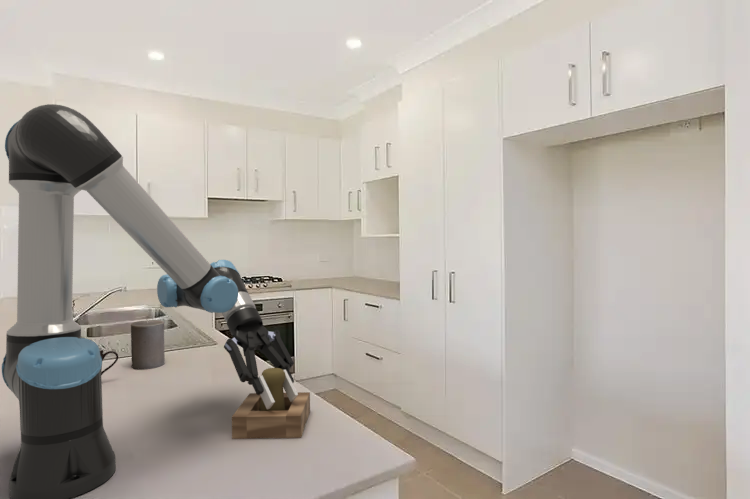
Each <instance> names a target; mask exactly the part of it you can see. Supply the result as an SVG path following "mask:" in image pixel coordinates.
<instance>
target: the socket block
mask: <svg viewBox="0 0 750 499" xmlns="http://www.w3.org/2000/svg"><path fill="white" fill-rule="evenodd" d="M297 393H298V396H297V397H296V398H295V400H294V401H292V402H290V400H289V398H288V396H287V394H286V392H284V402H285V411H259V409H260V403H261V395H257V394H256V392H249V393H248V394H247V396H246V397H245V399H244V400H243V401H242V403H241V404H240V405H239V407H238V408H237V409H236V410H235V412H234V413H233V414H232V416H231V438H232V440H238V439H239V440H240V439H245V440H246V439H294V438H295V439H296V438H297V439H298V438H299V439H300V438H302V436H303V433H304V431H305V427H306V424H307V422H308V418H309V416H310V413H311V392H309V391H308V392H307V391H306V392H303V391H302V392H298V391H297Z"/></svg>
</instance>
